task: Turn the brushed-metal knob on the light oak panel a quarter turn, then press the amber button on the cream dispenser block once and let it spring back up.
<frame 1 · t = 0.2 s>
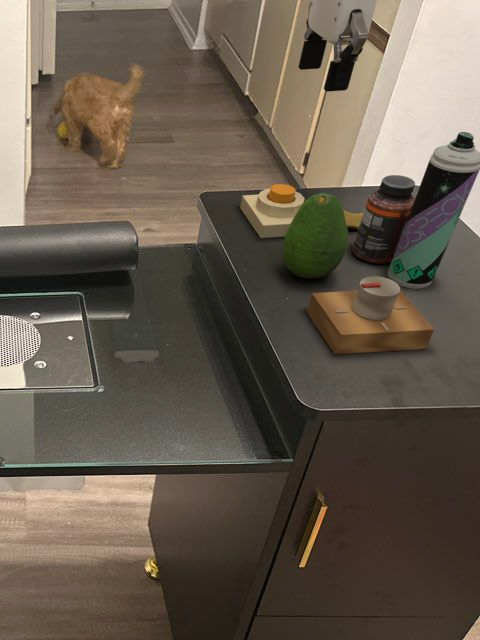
hand: (321, 79, 106), 19 cm above the table, tool pointing down, fingers open, 9 cm apart
dial panel: (363, 330, 91), on the table
supplement bottle: (373, 256, 104), on the table
button box: (275, 221, 113), on the table
button: (281, 194, 110), point 4 cm above the table, slide at 0.1 cm
fruit: (306, 276, 101), on the table
knob: (375, 297, 88), point 5 cm above the table, hinge at 0.0°
tan elongated lumpy piece: (363, 230, 110), on the table
spray can: (408, 279, 99), on the table
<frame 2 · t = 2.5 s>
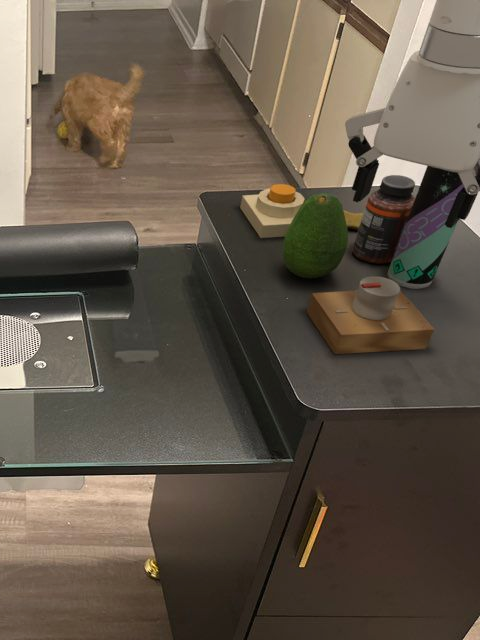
hand: (404, 209, 80), 16 cm above the table, tool pointing down, fingers open, 9 cm apart
nothing on the table moved.
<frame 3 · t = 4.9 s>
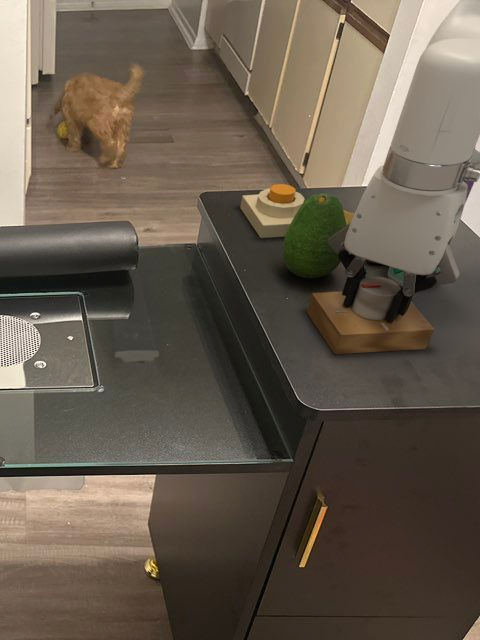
hand: (371, 308, 89), 3 cm above the table, tool pointing down, fingers closed on knob, 4 cm apart
knob: (375, 297, 88), point 5 cm above the table, hinge at -0.1°, touching gripper
everything else where it was.
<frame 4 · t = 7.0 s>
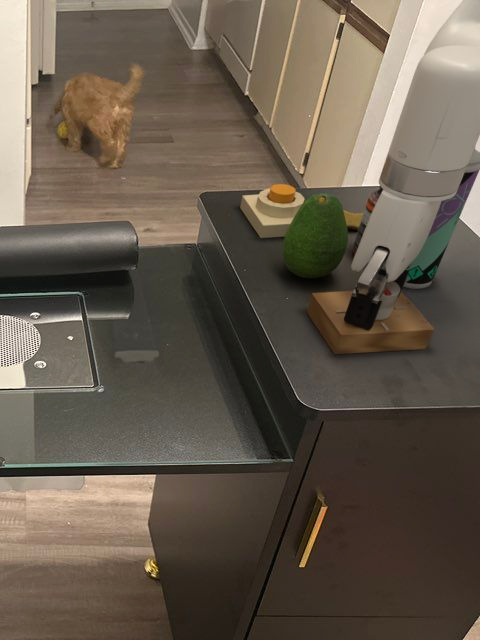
hand: (371, 308, 89), 3 cm above the table, tool pointing down, fingers open, 7 cm apart
knob: (375, 297, 88), point 5 cm above the table, hinge at 91.5°
everything else where it was.
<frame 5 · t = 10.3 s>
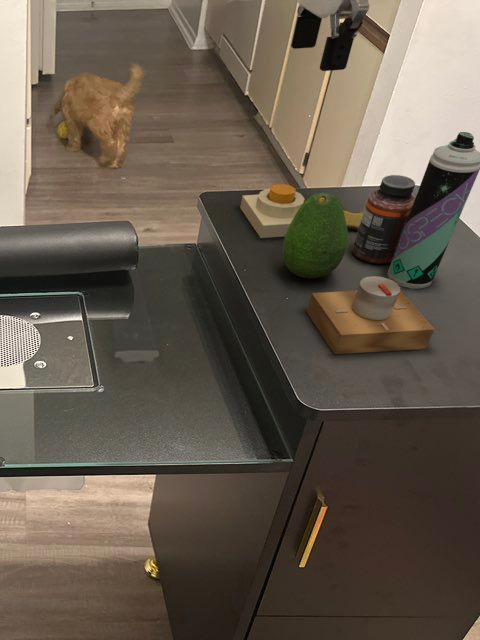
hand: (316, 58, 97), 24 cm above the table, tool pointing down, fingers open, 9 cm apart
nothing on the table moved.
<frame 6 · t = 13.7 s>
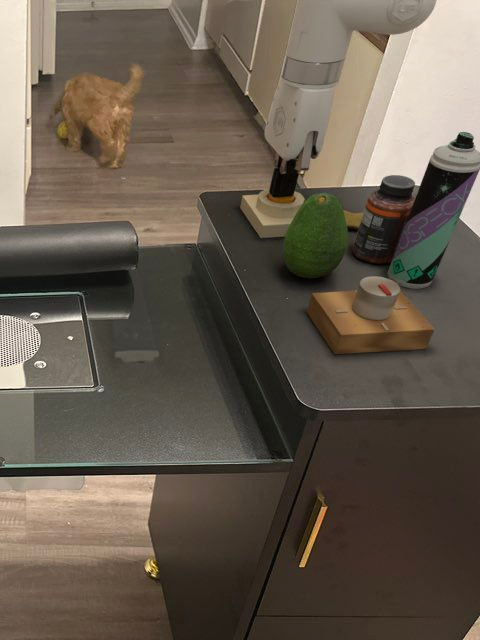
hand: (280, 194, 110), 4 cm above the table, tool pointing down, fingers closed
button: (280, 200, 111), point 4 cm above the table, slide at -0.8 cm, touching gripper
everything else where it was.
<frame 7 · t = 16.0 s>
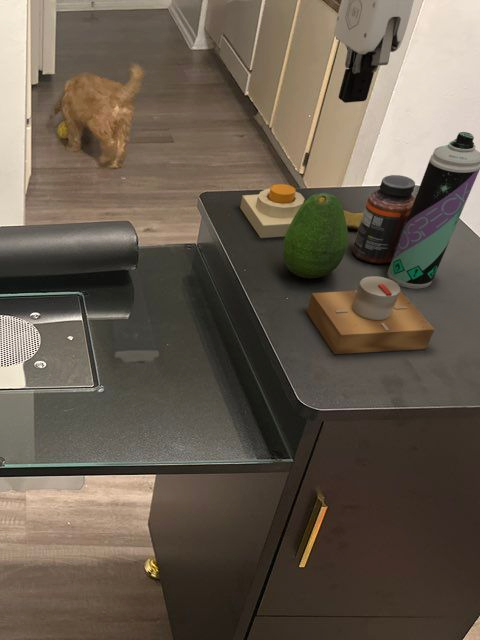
hand: (351, 99, 100), 19 cm above the table, tool pointing down, fingers closed
button: (281, 194, 110), point 4 cm above the table, slide at 0.1 cm
everything else where it was.
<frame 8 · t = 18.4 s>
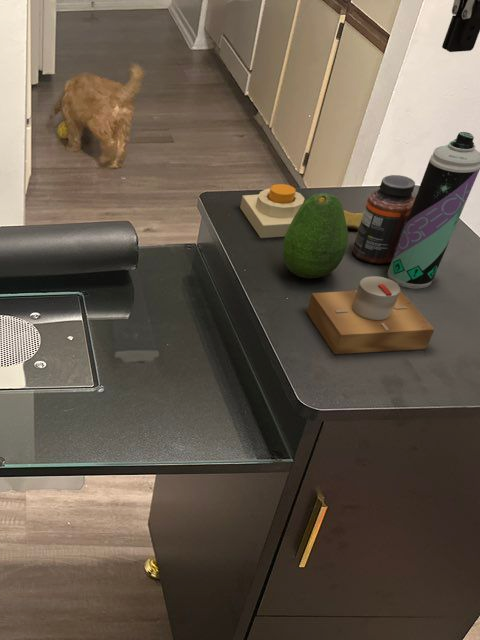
hand: (456, 49, 94), 25 cm above the table, tool pointing down, fingers closed
nothing on the table moved.
at the end: knob at +92° (first picture: +0°); button pushed in 1.1 cm at the most during the clip, back to where it started at the end; button slide at 0.1 cm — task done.
